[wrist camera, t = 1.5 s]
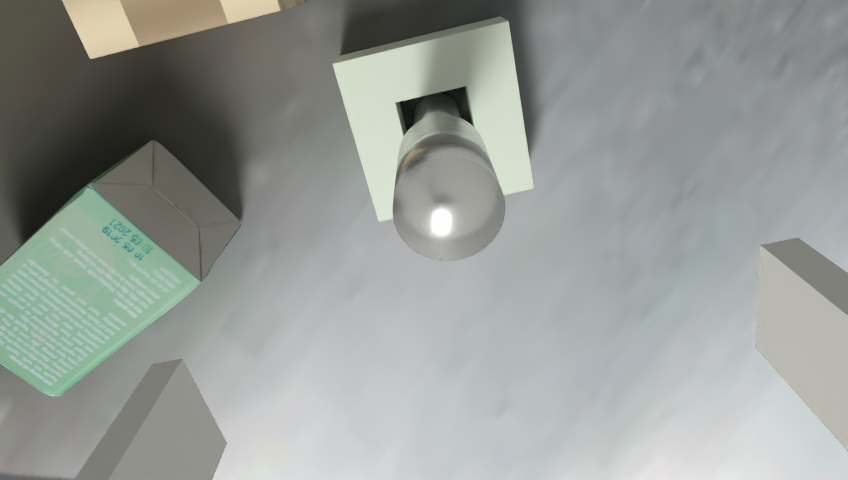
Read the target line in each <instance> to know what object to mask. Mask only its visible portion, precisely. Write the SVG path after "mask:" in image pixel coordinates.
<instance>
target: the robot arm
mask: <svg viewBox="0 0 848 480" xmlns="http://www.w3.org/2000/svg"><path fill="white" fill-rule="evenodd" d="M756 349H757V350H758V351H759V352H760V353H761V354H762V355H763V357H764V358H765V359H766V360H767V361H768V362H769V363H770V364H771V366H772V367H773V368H774V369H775V370H776V371H777V372H778V373H779V375H780V376H781V377H782V378H783V379H784V380H785V381H786V382H787V384H788V385H789V386H790V387H791V388H792V389H793V390H794V391H795V393H796V394H797V395H798V396H799V397H800V398H801V399H802V400H803V402H804V403H805V404H806V405H807V406H808V407H809V408H810V409H811V411H812V412H813V413H814V414H815V415H816V416H817V417H818V418H819V420H820V421H821V422H822V423H823V424H824V425H825V426H826V427H827V429H828V430H829V431H830V432H831V433H832V434H833V435H834V436H835V438H836V439H837V440H838V441H839V442H840V443H841V444H842V445H843V446H844V448H845V449H846V450H847V451H848V273H847V272H845V271H844V270H843V269H841V268H840V267H838V266H837V265H836V264H834V263H833V262H831V261H830V260H829V259H827V258H826V257H824V256H823V255H821V254H820V253H819V252H817V251H816V250H814V249H813V248H812V247H810V246H809V245H807V244H806V243H805V242H803V241H802V240H800V239H799V238H795V239H790V240H784V241H779V242H774V243H769V244H764V245H761V246H760V268H759V289H758V311H757V333H756ZM226 444H227V442H226V440H225V438H224V437H223V435H222V433H221V431H220V429H219V427H218V425H217V423H216V421H215V419H214V418H213V416H212V414H211V412H210V410H209V408H208V406H207V404H206V402H205V401H204V399H203V397H202V395H201V393H200V391H199V389H198V387H197V385H196V383H195V382H194V380H193V378H192V376H191V374H190V372H189V370H188V368H187V366H186V364H185V363H184V361H183V359H179V360H174V361H168V362H163V363H158V364H153V365H152V366H151V367H150V369H149V370H148V371H147V373H146V374H145V376H144V377H143V379H142V380H141V382H140V383H139V385H138V386H137V388H136V389H135V391H134V392H133V394H132V395H131V397H130V398H129V399H128V401H127V402H126V404H125V405H124V407H123V408H122V410H121V411H120V413H119V414H118V416H117V417H116V419H115V420H114V422H113V423H112V425H111V426H110V427H109V429H108V430H107V432H106V433H105V435H104V436H103V438H102V439H101V441H100V442H99V444H98V445H97V447H96V448H95V450H94V451H93V453H92V454H91V455H90V457H89V458H88V460H87V461H86V463H85V464H84V466H83V467H82V469H81V470H80V472H79V473H78V475H77V476H76V478H75V479H74V480H212V478H213V476H214V473H215V471H216V469H217V466H218V464H219V461H220V459H221V456H222V454H223V451H224V449H225V446H226Z"/></svg>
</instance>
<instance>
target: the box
mask: <svg viewBox="0 0 848 480" xmlns="http://www.w3.org/2000/svg"><path fill="white" fill-rule="evenodd" d="M240 226H241V224H240V222H239V220H238V218H237V217H236V216H235V215H234V214H233V213H232V212H231V211H230V210H229V209H228V208H227V207H226V206H225V205H224V204H223V203H222V202H221V201H220V200H219V199H218V198H217V197H216V196H215V195H214V194H213V193H212V192H211V191H210V190H209V189H208V188H207V187H206V186H205V185H204V184H203V183H202V182H201V181H200V180H199V179H198V178H197V177H195V176H194V175H193V174H192V173H191V172H190V171H189V170H188V169H187V168H186V167H185V166H184V165H183V164H182V163H181V162H180V161H179V160H178V159H177V158H176V157H175V156H174V155H172V154H171V153H170V152H169V151H168V150H167V149H166V148H165V147H163V146H162V145H161V144H160V143H158V142H156V141H154V140H152V141H149V142H147V143H146V144H144V145H143V146H142V147H140V148H139V149H137V150H136V151H134V152H133V153H131V154H130V155H129V156H127V157H126V158H124V159H123V160H121V161H120V162H118V163H117V164H115V165H114V166H112V167H111V168H109V169H108V170H106V171H105V172H104V173H102V174H101V175H99V176H98V177H97V178H95V179H94V180H92V181H91V182H90V183H88V184H87V185H86V186H85V187H83V188H82V189H81V190H80V191H79V192H77V193H76V194H75V195H74V196H73V197H72V198H71V199H70V200H69V201H68V202H66V203H65V204H64V205H63V206H62V207H61V208H60V209H59V210H58V211H57V212H56V213H55V214H54V215H53V216H52V217H51V218H50V219H49V220H47V221H46V222H45V223H44V224H43V225H42V226H41V227H40V228H39V229H38V230H37V231H36V232H35V233H34V234H33V235H32V236H31V237H30V238H29V239H27V240H26V241H25V242H24V243H23V244H22V245H21V246H20V247H19V248H18V249H17V250H16V251H15V252H14V253H13V254H12V255H11V256H10V257H9V258H8V259H6V260H5V261H4V262H3V263H2V264H1V265H0V364H2V365H3V366H5V367H6V368H8V369H9V370H11V371H12V372H13V373H15V374H16V375H18V376H19V377H21V378H22V379H24V380H25V381H27V382H28V383H30V384H31V385H33V386H34V387H35V388H37V389H38V390H40V391H41V392H43V393H45V394H47V395H49V396H61V395H62V394H63V393H64V392H65V391H66V390H67V389H69V388H70V387H71V386H72V385H74V384H75V383H76V382H77V381H79V380H80V379H81V378H82V377H84V376H85V375H86V374H87V373H89V372H90V371H91V370H92V369H94V368H95V367H96V366H97V365H99V364H100V363H101V362H102V361H104V360H105V359H106V358H108V357H109V356H110V355H111V354H113V353H114V352H115V351H116V350H118V349H119V348H120V347H121V346H123V345H124V344H125V343H126V342H128V341H129V340H130V339H131V338H133V337H134V336H135V335H137V334H138V333H139V332H140V331H142V330H143V329H144V328H146V327H147V326H148V325H150V324H151V323H152V322H154V321H155V320H156V319H157V318H159V317H160V316H161V315H163V314H164V313H165V312H167V311H168V310H169V309H171V308H172V307H173V306H174V305H176V304H177V303H178V302H179V301H181V300H182V299H183V298H184V297H186V296H187V295H188V294H189V293H190V292H192V291H193V290H194V289H195V288H196V287H198V286H199V285H200V284H201V282H202V281H203V280H204V279H205V277H206V276H207V274H208V273H209V271H210V269H211V268H212V266H213V264H214V263H215V261H216V260H217V258H218V257H219V255H220V254H221V253H222V251H223V250H224V249H225V247H226V246H227V244H228V243H229V242H230V240H231V239H232V237H233V236H234V235H235V233H236V232H237V231H238V229H239V228H240Z"/></svg>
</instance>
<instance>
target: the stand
mask: <svg viewBox="0 0 848 480" xmlns="http://www.w3.org/2000/svg"><path fill="white" fill-rule="evenodd" d="M333 67H334V71H335V74H336V77H337V81H338V84H339V88H340V91H341V94H342V98H343V101H344V105H345V108H346V112H347V115H348V118H349V122H350V125H351V129H352V132H353V135H354V139H355V142H356V146H357V149H358V152H359V156H360V159H361V163H362V166H363V169H364V173H365V176H366V180H367V183H368V187H369V190H370V193H371V197H372V200H373V204H374V207H375V210H376V214H377V217H378V221H379V222H380V221H385V220H390V219H393V211H392V209H393V198H394V189H395V179H396V170H397V160H398V151H399V147H400V144H401V141H402V139H403V137H404V135H405V134H406V133H407V129H406V125H405V121H404V117H403V113H402V109H401V105H400V101H405V100H409V99H413V98H417V97H422V96H426V95H430V94H435V93H439V92H443V91H447V90H452V89H456V88H460V87H464V86H465V92H466V97H467V102H468V107H469V112H470V117H471V123H472V126H473V127H474V128H475V129H476V130H477V131H478V132H479V134H480V135H481V137H482V139H483V142H484V144H485V147H486V149H487V152H488V155H489V157H490V160H491V163H492V165H493V168H494V171H495V173H496V176H497V179H498V181H499V184H500V187H501V189H502V192H503V195H506V194H510V193H515V192H520V191H524V190H529V189H534V187H533V180H532V173H531V167H530V160H529V153H528V147H527V140H526V134H525V127H524V120H523V114H522V107H521V100H520V94H519V87H518V80H517V74H516V67H515V61H514V54H513V47H512V41H511V34H510V27H509V21H508V20H506V19H504V18H503V17H501V16H499V17H495V18H491V19H487V20H483V21H479V22H475V23H470V24H466V25H462V26H458V27H454V28H450V29H446V30H442V31H438V32H434V33H430V34H426V35H422V36H418V37H413V38H409V39H405V40H401V41H397V42H393V43H389V44H385V45H381V46H377V47H373V48H369V49H365V50H360V51H356V52H352V53H348V54H344V55H340V56H339V57H338V58H337V60H336V61H335V62H334V63H333Z"/></svg>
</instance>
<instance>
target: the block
mask: <svg viewBox="0 0 848 480" xmlns="http://www.w3.org/2000/svg"><path fill="white" fill-rule="evenodd" d="M62 2H63V4H64V6H65V8H66V10H67V12H68V14H69V16H70V18H71V20H72V22H73V24H74V26H75V29H76V31H77V33H78V35H79V37H80V39H81V41H82V43H83V45H84V47H85V49H86V51H87V54H88V56H89V58H90V59H93V58H97V57H101V56H105V55H109V54H113V53H117V52H120V51H124V50H128V49H132V48H136V47H140V46H144V45H148V44H152V43H156V42H160V41H163V40H167V39H171V38H175V37H179V36H183V35H187V34H191V33H195V32H199V31H203V30H206V29H210V28H214V27H218V26H222V25H226V24H230V23H234V22H238V21H242V20H246V19H249V18H253V17H257V16H261V15H265V14H269V13H273V12H277V11H281V10H284V9H287V8H290V7H293V6H296V5H300V4H303V3H306V2H305V0H62Z"/></svg>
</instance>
